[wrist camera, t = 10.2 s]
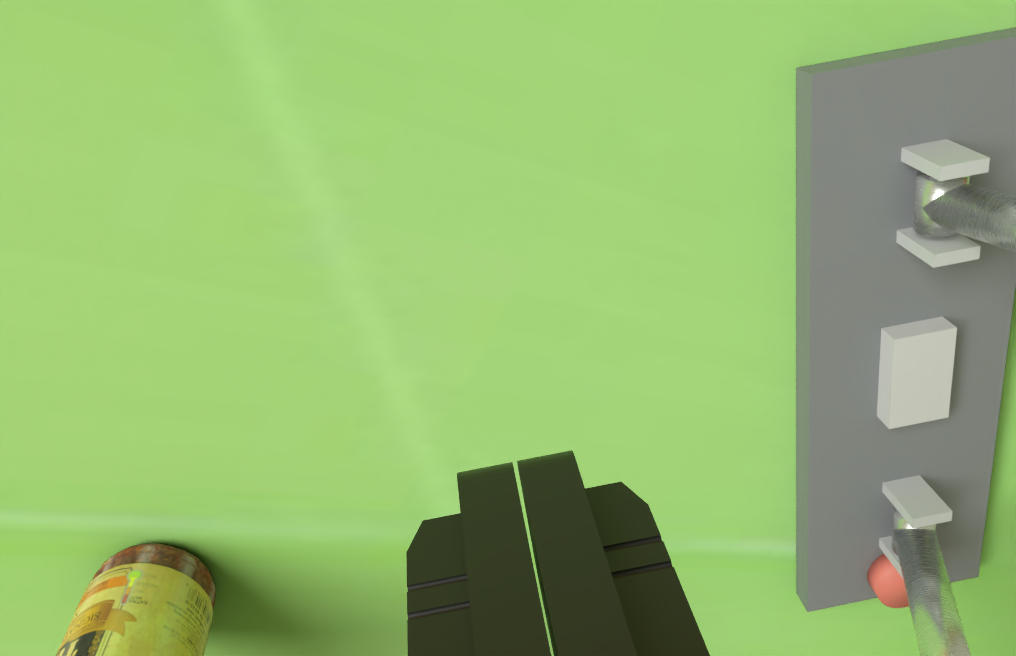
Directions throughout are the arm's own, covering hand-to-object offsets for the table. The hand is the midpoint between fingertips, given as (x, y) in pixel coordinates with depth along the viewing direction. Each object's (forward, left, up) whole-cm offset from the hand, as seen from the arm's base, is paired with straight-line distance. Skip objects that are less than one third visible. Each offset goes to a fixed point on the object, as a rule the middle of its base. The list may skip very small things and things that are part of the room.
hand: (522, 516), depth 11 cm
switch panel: (-7, +25, -27) cm, 37 cm away
